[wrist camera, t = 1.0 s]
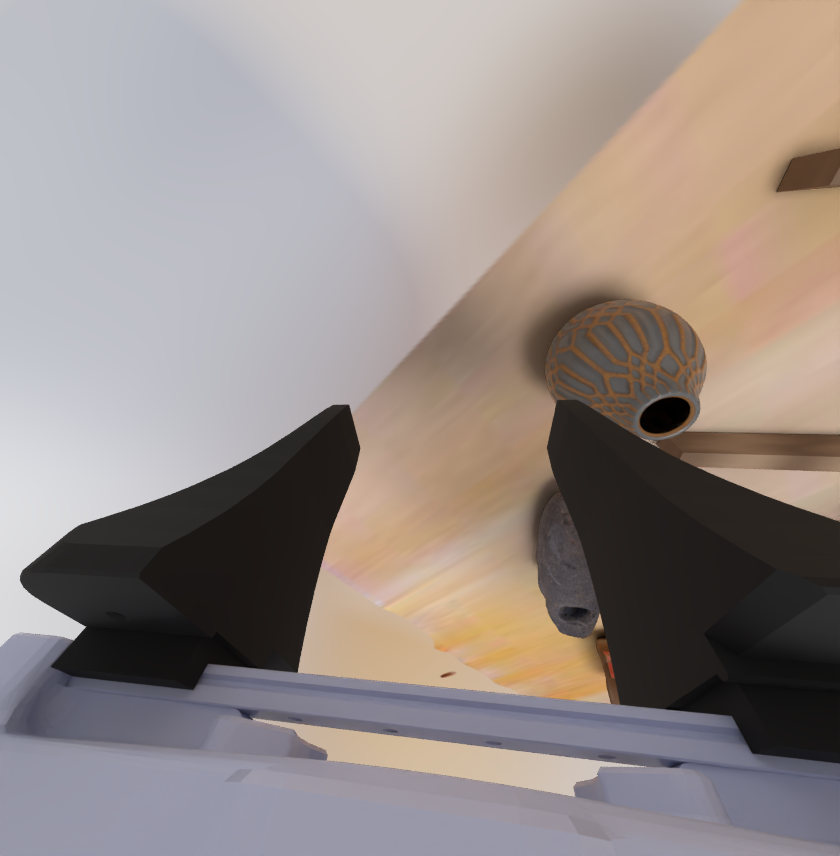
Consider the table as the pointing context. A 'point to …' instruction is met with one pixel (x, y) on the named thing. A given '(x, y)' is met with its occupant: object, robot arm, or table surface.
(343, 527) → the table surface
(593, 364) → the vase
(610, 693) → the tin
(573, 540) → the perforated stone tool
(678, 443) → the tray
